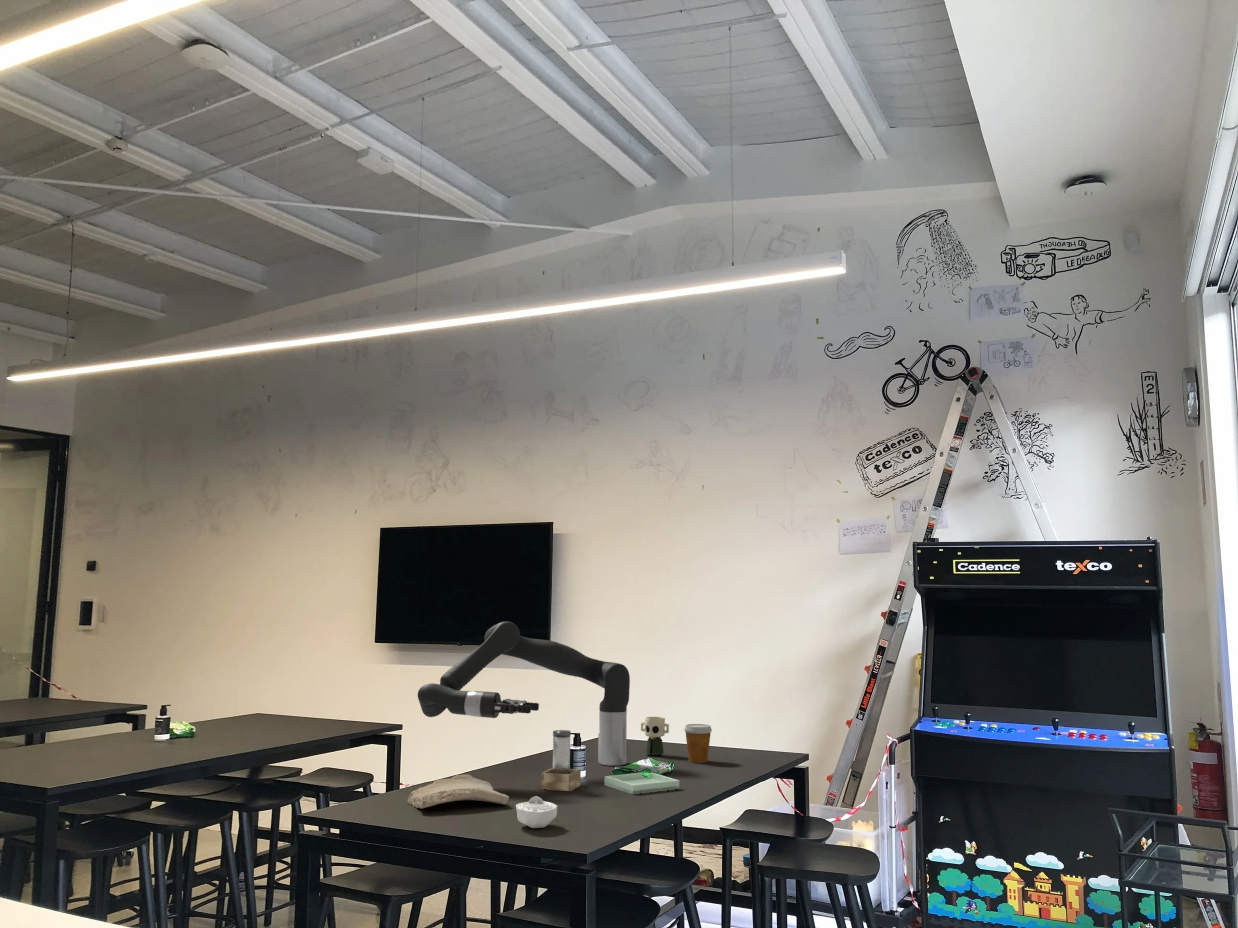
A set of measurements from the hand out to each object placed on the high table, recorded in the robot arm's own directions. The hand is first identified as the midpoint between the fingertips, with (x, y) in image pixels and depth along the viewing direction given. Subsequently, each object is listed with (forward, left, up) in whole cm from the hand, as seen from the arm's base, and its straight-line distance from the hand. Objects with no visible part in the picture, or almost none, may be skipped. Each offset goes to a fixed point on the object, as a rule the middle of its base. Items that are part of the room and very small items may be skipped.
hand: (534, 708), depth 289 cm
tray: (+16, +27, -22) cm, 39 cm away
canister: (+5, +6, -22) cm, 24 cm away
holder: (+5, +6, -22) cm, 24 cm away
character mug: (-31, +62, -23) cm, 73 cm away
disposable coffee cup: (-13, +68, -23) cm, 73 cm away
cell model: (+46, -22, -23) cm, 56 cm away
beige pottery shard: (+12, -29, -23) cm, 39 cm away
